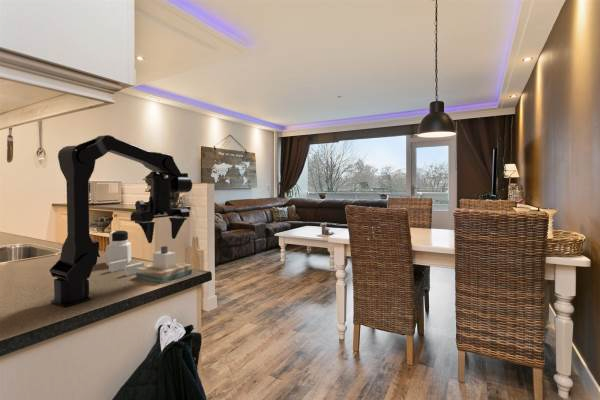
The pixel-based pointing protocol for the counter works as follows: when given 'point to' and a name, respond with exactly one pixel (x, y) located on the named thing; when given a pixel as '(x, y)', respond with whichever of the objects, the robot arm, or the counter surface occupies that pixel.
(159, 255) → the plug
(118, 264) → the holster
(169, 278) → the port block
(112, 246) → the medicine bottle
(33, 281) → the counter surface
